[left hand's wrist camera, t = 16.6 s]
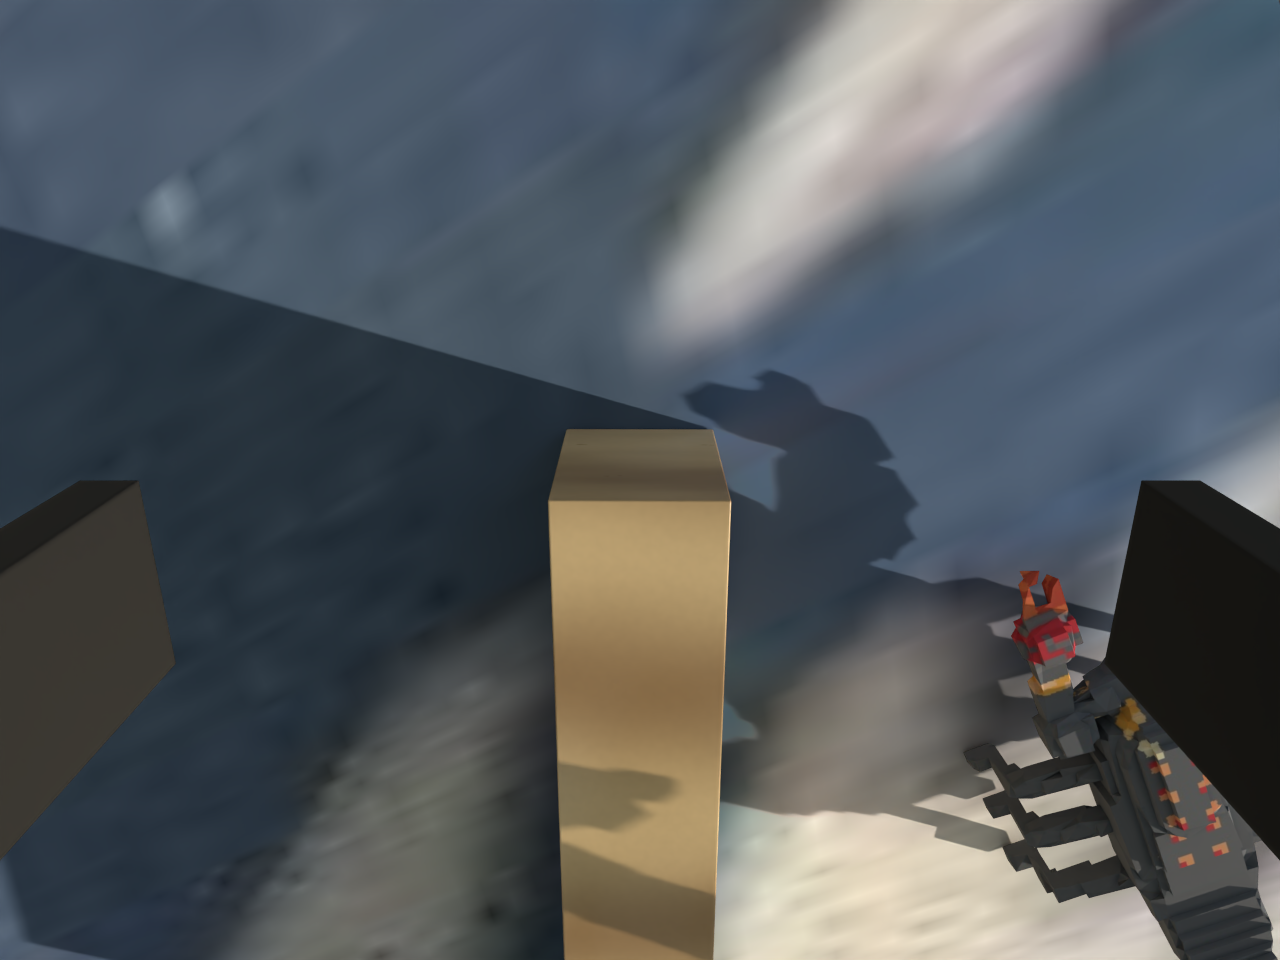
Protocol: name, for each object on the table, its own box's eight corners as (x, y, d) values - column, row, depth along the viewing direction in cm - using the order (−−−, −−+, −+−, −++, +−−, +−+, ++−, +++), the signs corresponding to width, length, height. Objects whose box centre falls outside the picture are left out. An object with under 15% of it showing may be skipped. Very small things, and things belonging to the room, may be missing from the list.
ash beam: (566, 428, 37) (547, 500, 30) (713, 429, 37) (731, 500, 30) (583, 1061, 50) (573, 1224, 42) (693, 1061, 50) (703, 1224, 42)
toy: (1058, 984, 48) (1295, 1459, 30) (886, 564, 39) (1078, 892, 22) (1319, 899, 46) (1729, 1356, 28) (1195, 438, 37) (1672, 691, 20)
